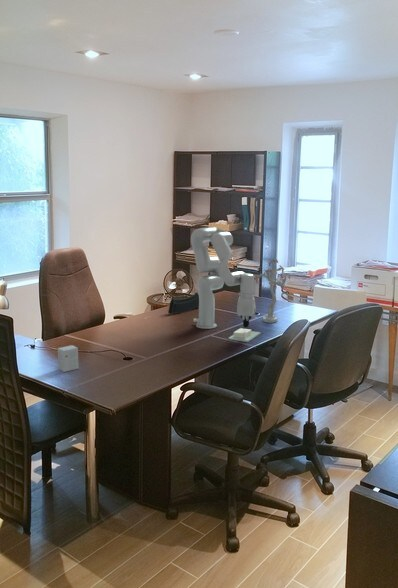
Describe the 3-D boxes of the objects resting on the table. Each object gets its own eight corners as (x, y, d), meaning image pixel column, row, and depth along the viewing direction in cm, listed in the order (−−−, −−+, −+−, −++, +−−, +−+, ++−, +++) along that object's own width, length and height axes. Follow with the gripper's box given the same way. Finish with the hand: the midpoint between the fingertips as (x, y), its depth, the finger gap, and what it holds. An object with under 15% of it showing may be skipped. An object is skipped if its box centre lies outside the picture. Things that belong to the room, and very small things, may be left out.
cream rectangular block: (244, 338, 331) (233, 336, 334) (251, 334, 340) (240, 332, 343) (245, 333, 330) (233, 332, 334) (251, 329, 339) (240, 328, 342)
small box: (73, 365, 284) (72, 344, 282) (78, 368, 280) (78, 347, 278) (58, 369, 279) (57, 348, 277) (63, 372, 275) (62, 350, 273)
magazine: (169, 302, 381) (198, 283, 401) (165, 302, 383) (194, 283, 403) (174, 325, 388) (202, 305, 408) (170, 324, 390) (199, 305, 410)
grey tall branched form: (256, 313, 391) (258, 254, 383) (291, 316, 385) (294, 256, 377) (248, 324, 365) (250, 260, 357) (286, 327, 359) (288, 262, 351)
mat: (228, 339, 331) (228, 337, 331) (241, 331, 349) (241, 329, 349) (247, 342, 326) (247, 340, 326) (260, 333, 344) (260, 332, 343)
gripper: (232, 295, 331) (231, 326, 335) (256, 298, 325) (255, 330, 328) (237, 292, 338) (236, 323, 342) (261, 295, 331) (260, 327, 335)
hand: (245, 326), depth 335 cm, fingers closed
